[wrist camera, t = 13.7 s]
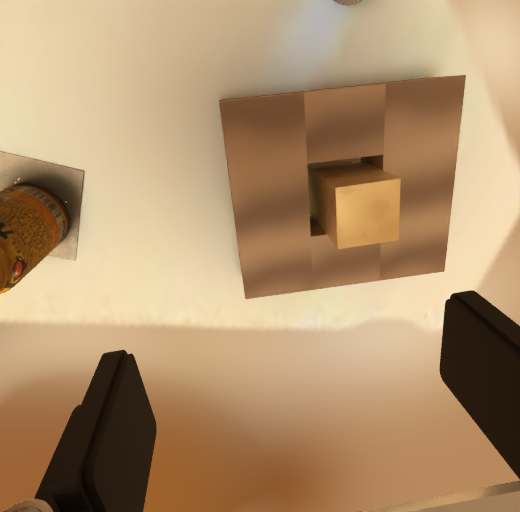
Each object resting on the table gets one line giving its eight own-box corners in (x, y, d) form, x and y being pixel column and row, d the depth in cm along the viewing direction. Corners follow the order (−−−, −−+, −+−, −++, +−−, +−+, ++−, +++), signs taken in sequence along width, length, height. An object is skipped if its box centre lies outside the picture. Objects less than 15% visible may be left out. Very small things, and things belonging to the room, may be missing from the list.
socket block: (219, 100, 31) (219, 101, 27) (430, 77, 32) (465, 75, 28) (241, 274, 38) (245, 299, 33) (417, 250, 39) (444, 271, 34)
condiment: (-11, 243, 34) (-118, 315, 23) (-10, 148, 31) (-133, 179, 20) (76, 259, 35) (13, 334, 24) (85, 170, 32) (17, 210, 21)
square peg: (303, 162, 34) (335, 187, 25) (351, 155, 34) (400, 178, 25) (306, 209, 36) (337, 249, 27) (352, 202, 36) (398, 240, 27)
